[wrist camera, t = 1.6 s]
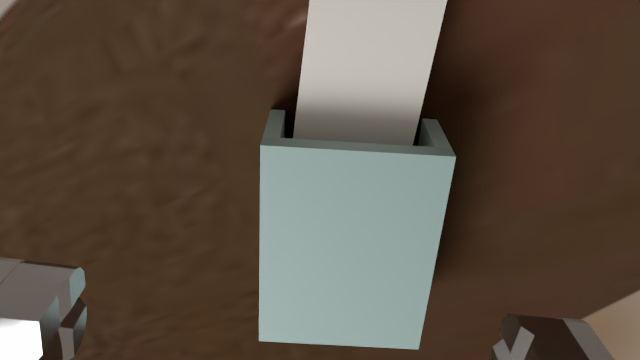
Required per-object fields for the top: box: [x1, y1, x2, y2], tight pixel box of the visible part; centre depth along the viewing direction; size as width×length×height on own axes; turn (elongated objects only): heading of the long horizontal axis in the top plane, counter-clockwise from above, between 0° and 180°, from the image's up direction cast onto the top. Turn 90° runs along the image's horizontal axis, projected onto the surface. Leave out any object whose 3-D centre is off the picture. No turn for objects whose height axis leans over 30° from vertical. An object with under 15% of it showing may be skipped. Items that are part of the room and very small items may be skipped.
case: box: [259, 109, 456, 349], centre depth 29 cm, size 9×12×5 cm
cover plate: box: [293, 0, 447, 146], centre depth 27 cm, size 6×14×3 cm, turn 172°
